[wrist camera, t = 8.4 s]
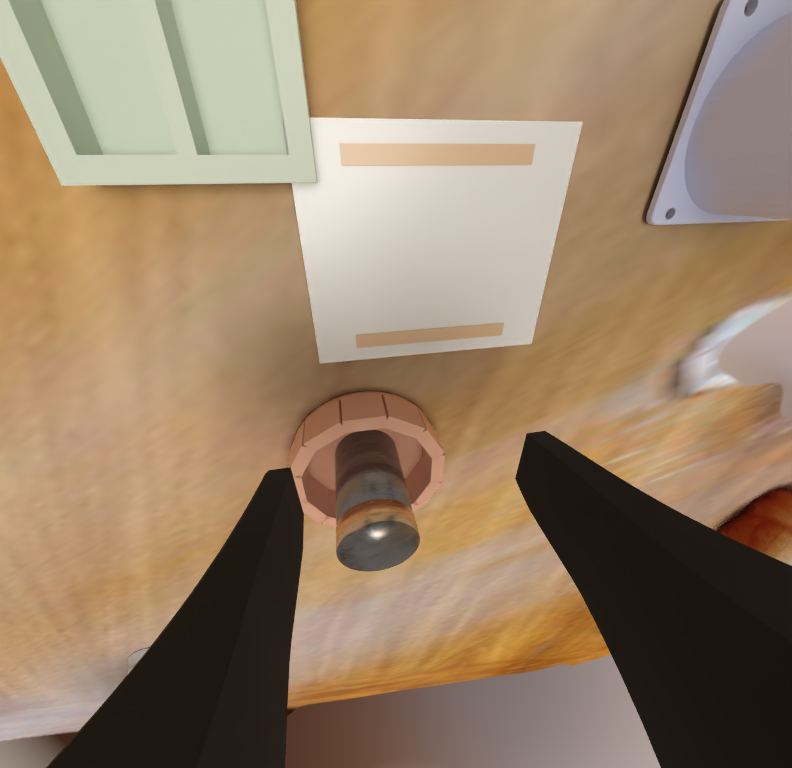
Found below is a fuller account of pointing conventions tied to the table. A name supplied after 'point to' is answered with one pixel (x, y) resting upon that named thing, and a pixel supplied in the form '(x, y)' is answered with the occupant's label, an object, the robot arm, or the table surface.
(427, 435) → the cup
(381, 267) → the pad
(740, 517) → the ceramic vessel
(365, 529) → the cylinder
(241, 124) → the trough
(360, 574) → the table surface
